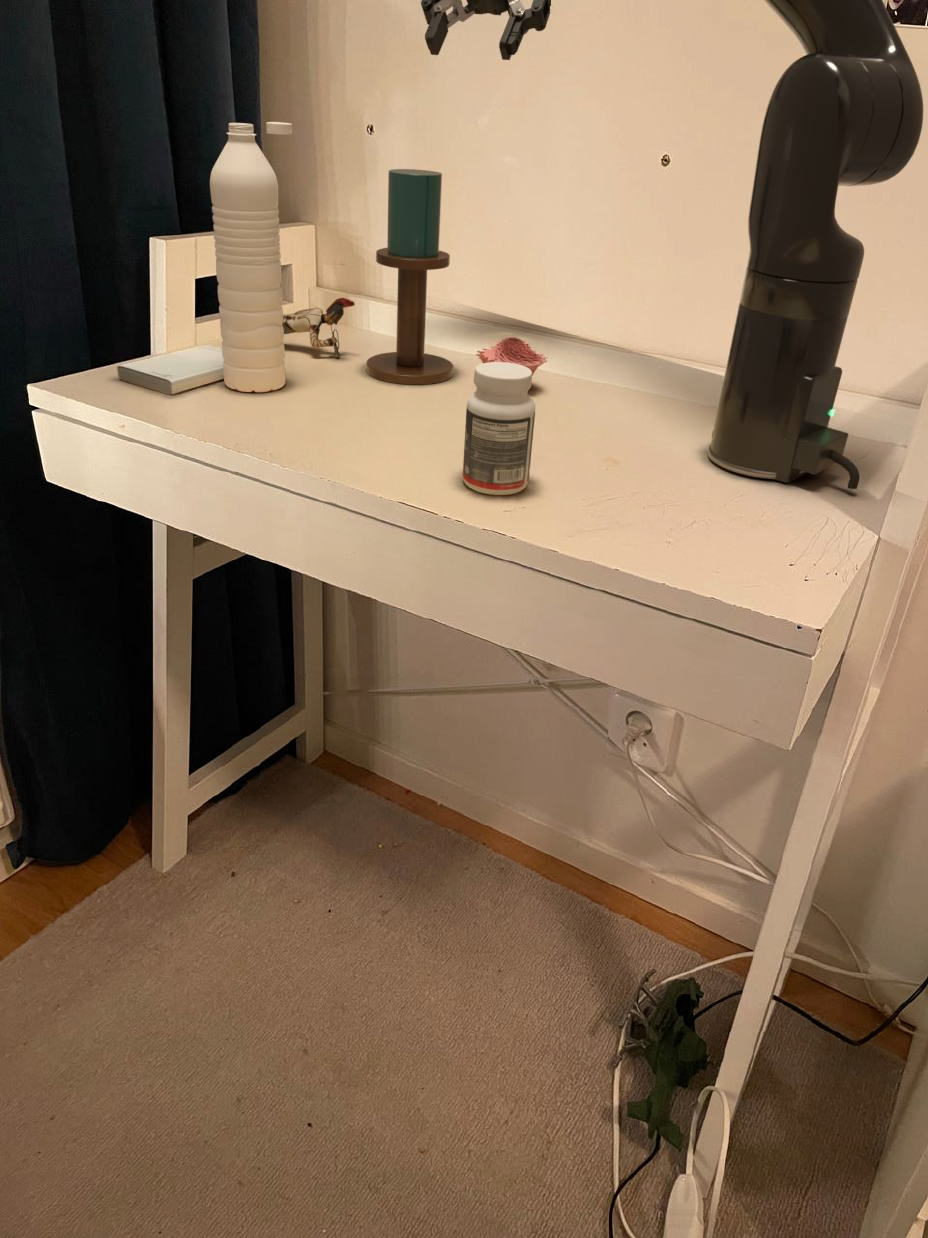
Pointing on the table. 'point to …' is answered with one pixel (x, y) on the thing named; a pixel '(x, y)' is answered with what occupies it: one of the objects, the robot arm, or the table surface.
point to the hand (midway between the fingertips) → (467, 50)
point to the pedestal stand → (410, 325)
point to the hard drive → (176, 370)
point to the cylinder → (414, 213)
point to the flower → (513, 354)
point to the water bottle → (248, 261)
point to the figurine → (317, 322)
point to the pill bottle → (499, 429)
